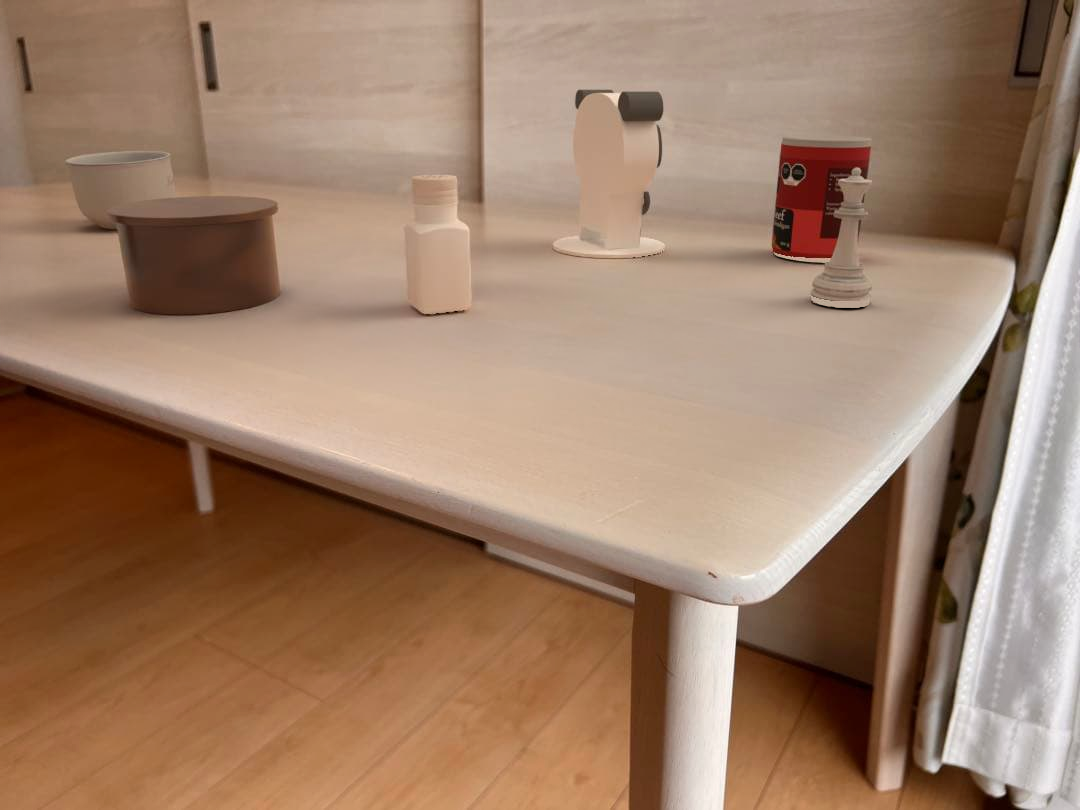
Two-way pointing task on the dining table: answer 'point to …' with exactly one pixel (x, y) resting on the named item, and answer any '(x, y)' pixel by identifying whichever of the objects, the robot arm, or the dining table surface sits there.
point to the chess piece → (846, 248)
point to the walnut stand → (198, 253)
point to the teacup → (119, 181)
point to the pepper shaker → (437, 248)
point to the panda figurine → (614, 172)
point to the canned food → (814, 191)
